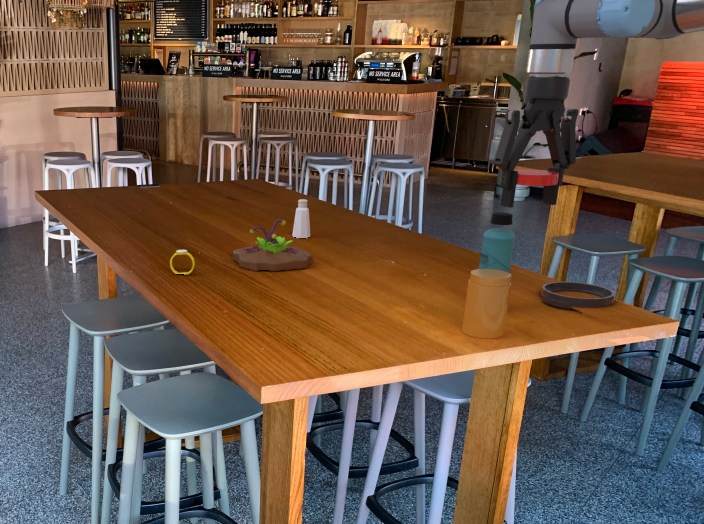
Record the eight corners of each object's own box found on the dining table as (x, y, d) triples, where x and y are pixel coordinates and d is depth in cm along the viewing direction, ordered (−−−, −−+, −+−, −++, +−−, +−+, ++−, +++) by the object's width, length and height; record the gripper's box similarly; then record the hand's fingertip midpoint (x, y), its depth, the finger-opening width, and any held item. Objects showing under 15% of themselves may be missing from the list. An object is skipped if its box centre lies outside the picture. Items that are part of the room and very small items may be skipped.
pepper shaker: (302, 234, 241) (304, 197, 237) (314, 237, 237) (316, 200, 233) (288, 236, 238) (290, 199, 234) (299, 239, 234) (301, 201, 230)
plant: (320, 269, 199) (323, 225, 195) (244, 273, 196) (245, 227, 192) (298, 252, 217) (300, 211, 213) (228, 255, 214) (229, 213, 210)
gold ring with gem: (195, 273, 196) (195, 249, 194) (193, 276, 193) (193, 252, 191) (171, 272, 197) (171, 249, 194) (169, 275, 194) (169, 251, 192)
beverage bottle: (488, 302, 171) (501, 209, 164) (512, 310, 166) (527, 214, 158) (465, 306, 169) (478, 211, 161) (489, 314, 163) (503, 216, 156)
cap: (496, 180, 150) (497, 170, 149) (535, 178, 152) (537, 168, 151) (526, 186, 142) (528, 176, 141) (567, 184, 144) (569, 173, 143)
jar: (511, 336, 149) (521, 276, 145) (476, 340, 148) (485, 279, 143) (487, 325, 156) (496, 267, 152) (453, 328, 154) (461, 270, 150)
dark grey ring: (627, 309, 166) (630, 296, 165) (569, 315, 162) (572, 301, 161) (580, 292, 178) (582, 279, 177) (526, 297, 175) (528, 284, 174)
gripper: (583, 75, 146) (562, 199, 154) (482, 76, 140) (466, 204, 149) (613, 75, 139) (590, 205, 148) (509, 76, 134) (491, 211, 142)
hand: (528, 205), depth 148 cm, fingers closed on cap, 9 cm apart
